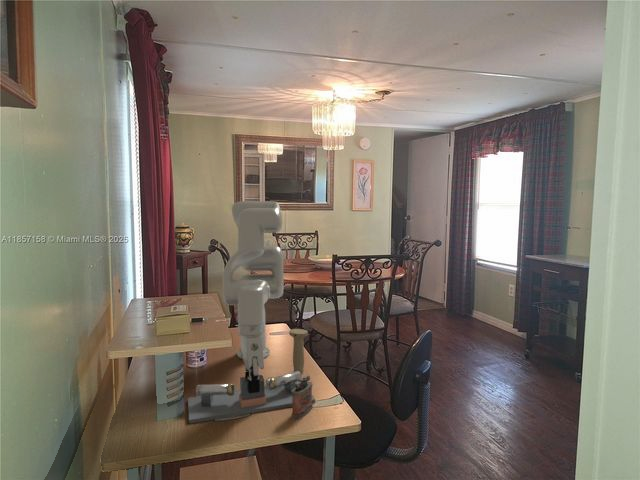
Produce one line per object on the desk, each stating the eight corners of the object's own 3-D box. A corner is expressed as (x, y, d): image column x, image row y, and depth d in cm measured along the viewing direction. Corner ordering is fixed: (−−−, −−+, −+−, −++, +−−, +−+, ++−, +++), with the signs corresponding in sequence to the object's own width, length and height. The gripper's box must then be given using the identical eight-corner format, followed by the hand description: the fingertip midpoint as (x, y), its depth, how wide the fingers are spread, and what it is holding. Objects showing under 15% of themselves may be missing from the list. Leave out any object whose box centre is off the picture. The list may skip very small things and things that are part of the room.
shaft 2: (271, 402, 123) (271, 381, 122) (265, 397, 126) (265, 376, 126) (302, 393, 129) (302, 372, 128) (295, 388, 132) (295, 368, 132)
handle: (303, 377, 140) (303, 334, 139) (287, 374, 143) (286, 332, 141) (309, 372, 145) (309, 330, 143) (293, 368, 147) (293, 328, 146)
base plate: (188, 401, 124) (187, 391, 124) (302, 383, 136) (302, 375, 135) (189, 423, 112) (188, 413, 111) (315, 402, 123) (315, 392, 123)
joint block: (240, 393, 122) (240, 375, 122) (262, 390, 124) (261, 372, 124) (242, 399, 119) (241, 381, 118) (264, 396, 121) (264, 378, 120)
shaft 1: (235, 402, 123) (235, 380, 123) (233, 409, 119) (233, 386, 119) (198, 403, 123) (198, 381, 122) (195, 410, 119) (195, 387, 118)
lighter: (298, 420, 114) (298, 385, 113) (289, 416, 115) (288, 382, 114) (315, 407, 120) (315, 374, 119) (305, 404, 122) (305, 372, 121)
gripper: (270, 336, 113) (271, 399, 115) (258, 318, 128) (259, 374, 130) (242, 339, 110) (243, 404, 112) (234, 321, 126) (235, 378, 128)
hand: (252, 387), depth 121 cm, fingers open, 4 cm apart
